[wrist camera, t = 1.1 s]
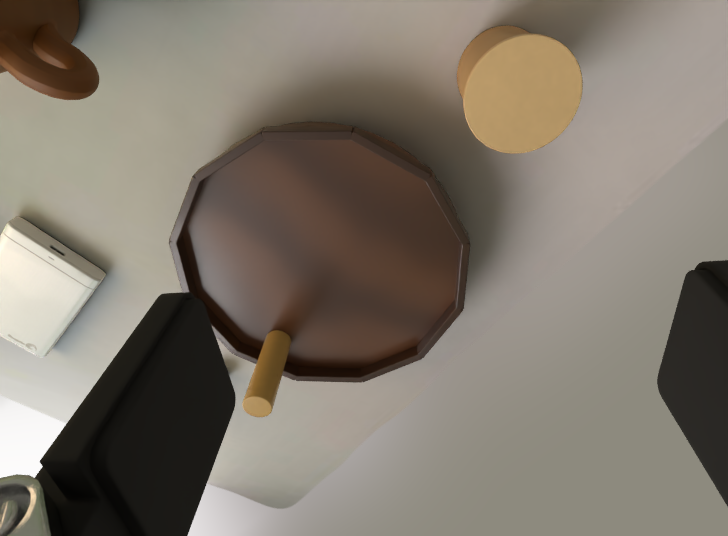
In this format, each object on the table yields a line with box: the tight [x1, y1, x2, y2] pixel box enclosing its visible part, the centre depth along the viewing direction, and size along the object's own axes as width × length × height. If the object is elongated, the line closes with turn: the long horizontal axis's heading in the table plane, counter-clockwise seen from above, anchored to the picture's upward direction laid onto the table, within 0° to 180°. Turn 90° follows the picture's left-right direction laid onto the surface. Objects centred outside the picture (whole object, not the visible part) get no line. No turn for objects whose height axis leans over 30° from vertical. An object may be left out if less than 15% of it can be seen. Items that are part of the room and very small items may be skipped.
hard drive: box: [0, 217, 106, 358], centre depth 44 cm, size 2×8×12 cm
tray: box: [169, 122, 470, 417], centre depth 35 cm, size 22×22×8 cm
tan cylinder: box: [457, 26, 582, 154], centre depth 29 cm, size 6×6×7 cm
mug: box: [0, 0, 99, 100], centre depth 28 cm, size 12×8×9 cm, turn 57°
